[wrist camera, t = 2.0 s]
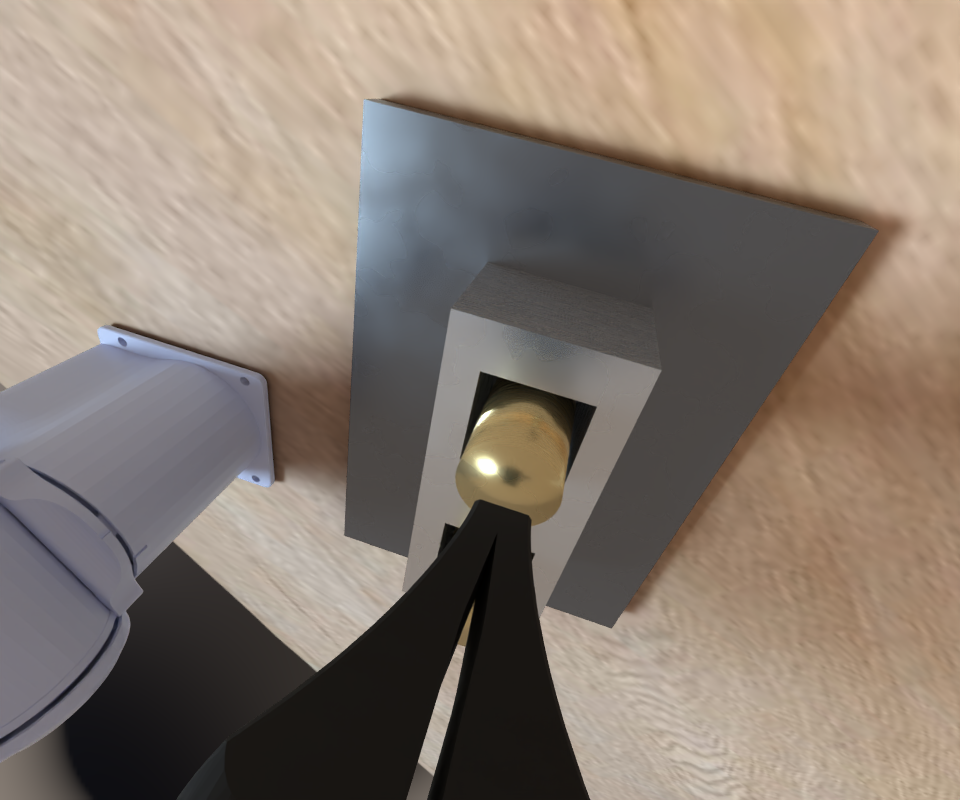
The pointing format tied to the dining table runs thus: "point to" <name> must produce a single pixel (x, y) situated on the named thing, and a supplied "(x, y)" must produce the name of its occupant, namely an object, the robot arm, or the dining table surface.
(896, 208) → the dining table surface
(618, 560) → the plate
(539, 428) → the pin
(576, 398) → the housing
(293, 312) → the dining table surface
